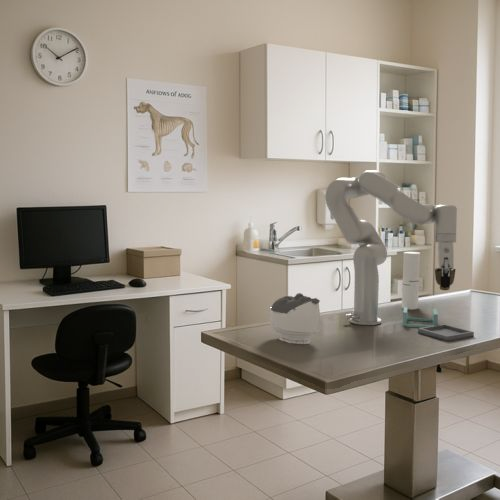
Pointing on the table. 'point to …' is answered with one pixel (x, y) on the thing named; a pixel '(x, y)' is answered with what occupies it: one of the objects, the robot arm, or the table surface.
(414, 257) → the cylindrical container
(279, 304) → the white bowl with contents
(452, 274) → the cup
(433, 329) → the tray
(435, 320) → the holder
